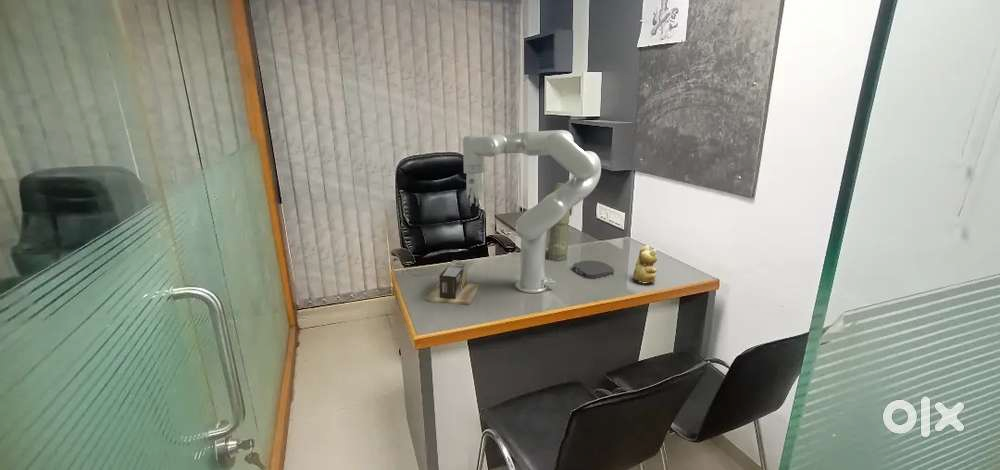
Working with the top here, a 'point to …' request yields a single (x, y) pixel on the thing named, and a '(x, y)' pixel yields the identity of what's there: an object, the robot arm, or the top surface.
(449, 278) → the coffee box
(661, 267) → the top surface
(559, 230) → the thermos
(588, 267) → the media streaming box
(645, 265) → the decorative figurine
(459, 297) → the board
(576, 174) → the robot arm
